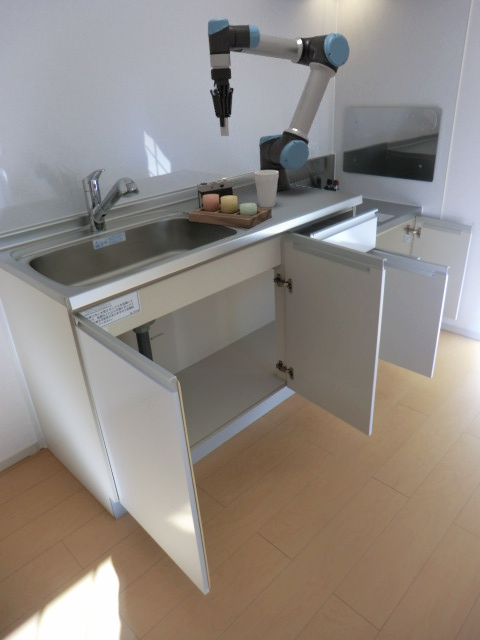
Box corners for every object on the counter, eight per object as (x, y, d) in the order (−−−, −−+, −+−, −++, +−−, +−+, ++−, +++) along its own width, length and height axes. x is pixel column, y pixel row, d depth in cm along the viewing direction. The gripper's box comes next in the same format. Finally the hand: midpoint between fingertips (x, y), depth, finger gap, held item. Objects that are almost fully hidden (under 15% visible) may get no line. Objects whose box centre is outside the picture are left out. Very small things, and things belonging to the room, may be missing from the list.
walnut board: (213, 210, 190) (212, 203, 189) (271, 217, 178) (271, 208, 176) (189, 221, 178) (188, 213, 177) (249, 228, 166) (249, 219, 164)
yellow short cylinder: (227, 208, 180) (226, 194, 178) (240, 209, 177) (240, 196, 175) (218, 212, 176) (217, 198, 174) (232, 213, 173) (231, 199, 171)
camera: (224, 201, 205) (222, 176, 200) (234, 204, 198) (232, 179, 194) (194, 206, 199) (192, 181, 194) (203, 210, 192) (201, 184, 188)
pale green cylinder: (245, 215, 177) (245, 202, 175) (260, 217, 174) (259, 203, 172) (237, 219, 173) (236, 206, 171) (251, 221, 170) (251, 207, 168)
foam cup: (277, 208, 189) (276, 174, 183) (253, 208, 191) (252, 174, 185) (280, 202, 197) (279, 169, 191) (257, 202, 199) (256, 170, 193)
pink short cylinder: (209, 206, 184) (208, 193, 182) (222, 207, 181) (221, 194, 179) (200, 210, 180) (199, 196, 177) (213, 211, 177) (212, 198, 175)
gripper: (221, 68, 185) (225, 133, 195) (202, 68, 175) (207, 137, 186) (238, 67, 181) (241, 133, 192) (219, 67, 171) (223, 138, 182)
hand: (224, 135), depth 189 cm, fingers closed
